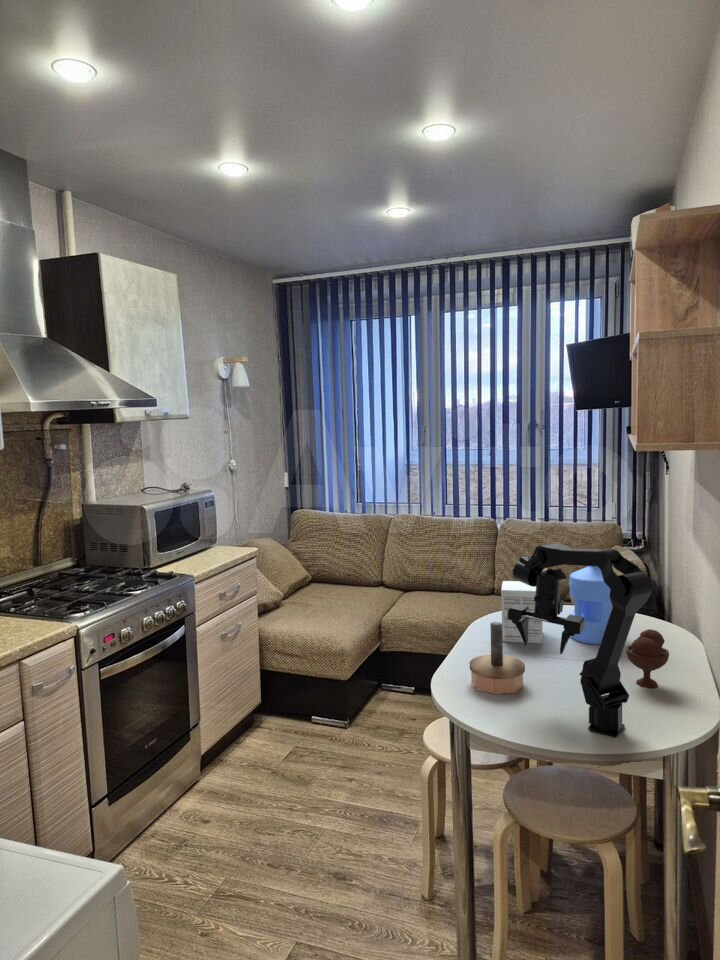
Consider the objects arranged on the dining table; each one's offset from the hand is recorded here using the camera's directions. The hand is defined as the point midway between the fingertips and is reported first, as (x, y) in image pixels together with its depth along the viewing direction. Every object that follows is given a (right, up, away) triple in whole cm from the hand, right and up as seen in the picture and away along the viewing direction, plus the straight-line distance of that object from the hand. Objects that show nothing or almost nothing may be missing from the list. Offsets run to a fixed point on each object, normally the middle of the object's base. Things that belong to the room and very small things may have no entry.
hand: (543, 649), depth 168 cm
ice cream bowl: (+30, -12, +8) cm, 33 cm away
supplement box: (+7, -9, +50) cm, 51 cm away
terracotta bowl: (-10, -12, +11) cm, 19 cm away
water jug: (+30, -8, +46) cm, 56 cm away
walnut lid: (-10, -8, +10) cm, 16 cm away
